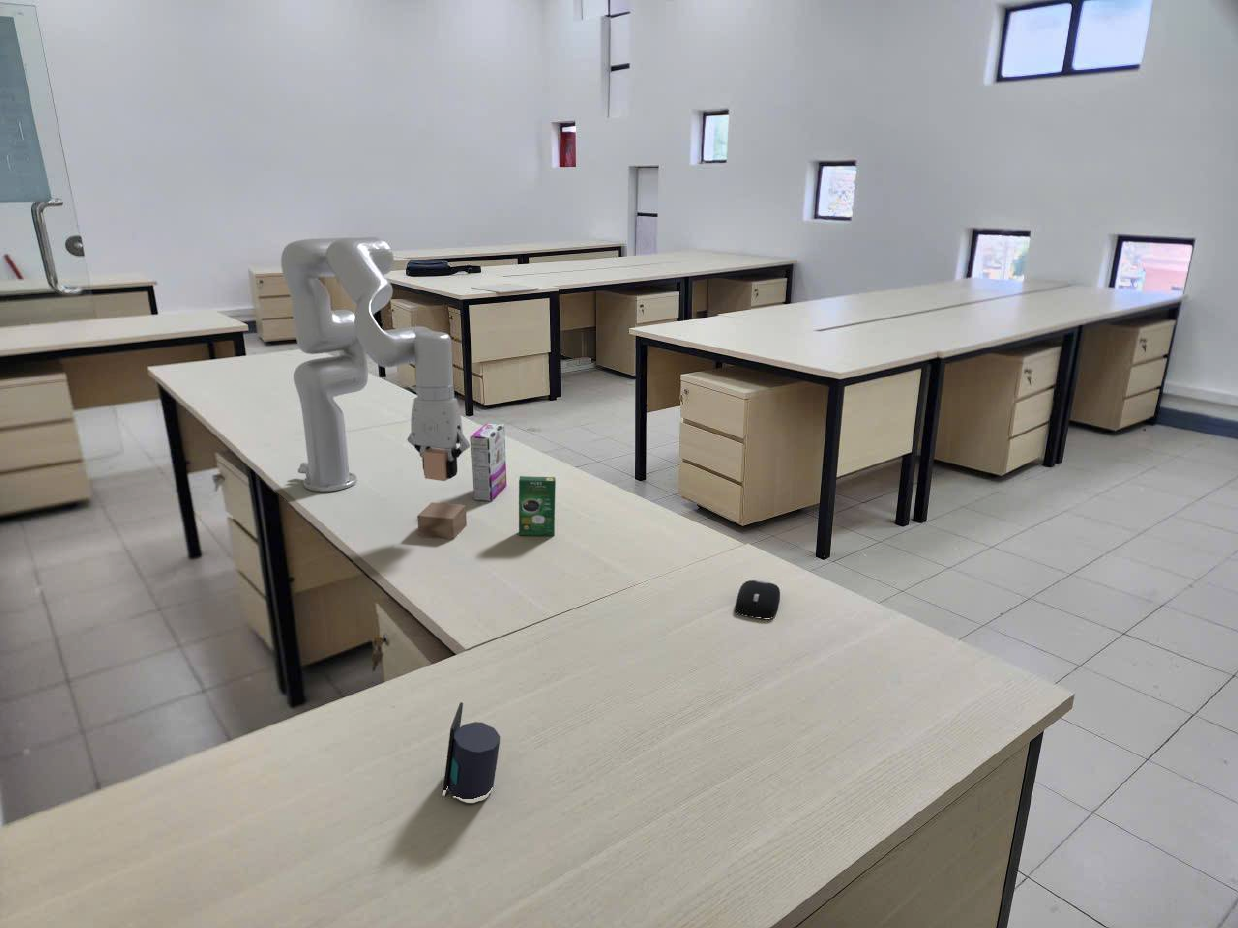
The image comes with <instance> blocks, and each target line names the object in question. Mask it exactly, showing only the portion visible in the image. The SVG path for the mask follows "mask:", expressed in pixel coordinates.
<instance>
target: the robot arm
mask: <svg viewBox="0 0 1238 928" xmlns="http://www.w3.org/2000/svg"><path fill="white" fill-rule="evenodd" d="M280 259H281V260H280V264H281V265H280V266H281V272H282V275H283V279H284V281H285V283H286V286H287V289H288V292H289V295H290V300H291V301H290V302H291V309H292V310H291V311H292V318H293V324H294V325H293V326H294V332H295V339H296V343H297V346H298V348H299V351H300V350H301V352H302V353H305V354H309V355H314V354H315V355H316V354H324V353H325V354H327V353H331V352H332V353H333V352H338V354H339V355H334V356H325V357H320V358H315V359H314V358H313V359H310V360H307V361H303V362H302V363H300V364H299V365H298V366H297V367H296V368H295V370H294V373H293V379H294V380H293V382H294V385H295V388H296V392H297V395H298V396H297V397H298V398H299V403H300V408H301V412H302V413H301V414H302V423H303V431H304V438H305V440H304V441H305V448H306V449H305V450H306V458H307V459H306V460H307V462H301V463H300V464H299V467H298V468H297V473H298V474H305V478H304V480H303V487H304V488H305V489H307V490H309V491H312V492H320V493H321V492H322V493H325V492H328V493H329V492H336V491H342V490H345V489H348V488H350V487H352V486H354V485H355V484H356V483H357V482H358V481H357V476H356V474H354V473H353V472H350V466H349V463H350V462H349V456H348V455H349V453H348V442H347V441H348V440H347V433H346V422H345V415H344V412H343V410H342V409H341V407H340V406H339V405H338V404H337V403H336V401H335V400H334V398H335V397H338V396H342V395H343V396H344V395H347V394H352V393H357V392H359V391H361V390H364V388H365V387H366V386H367V383H368V379H369V370H368V369H369V368H368V360H367V359H368V358H367V355H368V357H369V358H370V359H371V360H372V361H373V362H374V363H375V364H377V365H378V366H379V367H382V368H385V369H387V368H396V367H399V366H406V365H412V364H414V366H415V367H414V369H415V370H414V371H415V384H413V385H412V386H411V390H412V392H415V393H416V397H415V398H413V400H412V401H413V402H412V407H411V408H412V409H411V422H410V423H411V428H410V429H411V432H410V434H409V436H408V437H407V442H408V443H409V444H410V445H412V446H413V447H414V449H415V450H416V451H417V452H418V455H419V457H420V458H421V461H422V469H423V471H424V458H423V451H425V450H427V449H429V448H431V447H434V448H442V449H445V451H446V454H447V458H448V460H447V461H446V473H447V478H448V479H447V480H450V479H452V478H453V477H455V476H457V474H458V458H459V457H460V456H461V455H463V453H464V452H465V451H466V450H468V449H469V448H471V443H470V442H469V440H467V438H466V437H465V435H464V432H463V422H462V416H461V410H460V406H459V402H458V399H457V398H455V388H454V384H455V383H454V369H453V367H454V366H453V350H452V349H453V347H452V338H451V336H450V335H449V334H448V333H446V332H441V331H435V330H431V329H430V328H428V327H425V326H421V325H417V326H410V327H401V328H394V329H393V328H392V329H387V330H383V329H382V328H381V326H380V325H379V323H378V322H377V320H376V319H375V317H374V315H375V314H376V313H377V312H379V311H380V310H382V309H383V308H384V307H386V305H387V304H388V303H389V302H390V300H391V299H392V297H393V291H394V290H393V286H392V284H391V283H390V282H389V280H388V278H386V276H385V275H388V274H389V273H390V272H391V270H393V268H394V261H395V260H394V254H393V251H392V249H391V247H390V245H389V244H388V243H387V242H386V241H385V240H383V238H380V237H377V236H376V237H375V236H365V237H364V236H363V237H332V238H329V237H327V238H325V237H324V238H322V237H321V238H309V239H308V238H306V239H299V240H295V241H292V242H290V243H288V244H287V245H286V246H285V247H284V248H283V251H282V252H281V258H280ZM326 277H327V278H328V277H330V278H331V277H336V279H337V280H338V281H339V283H340V284H341V285H342V287H343V288H344V290H345V291H346V293H347V294H348V296H350V298H351V299H352V302H353V303H354V304H355V310H354V312H353V311H351V310H348V309H336V310H332V307H331V299H330V293H329V291H328V289H327V287H326V286H325V285H324V283H323V282H322V281H321V280H320V278H326ZM458 444H459V447H457V445H458ZM423 475H424V476H425V473H424V472H423Z"/></svg>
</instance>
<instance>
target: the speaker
mask: <svg viewBox="0 0 1238 928" xmlns="http://www.w3.org/2000/svg"><path fill="white" fill-rule="evenodd" d="M463 709H464V702H459V704H458V707H457V709H456V712H455V715H454V718H453V721H452V723H451V726H450V729H449V736H448V743H447V744H448V745H447V752H446V760H445V761H446V762H445V768H444V778H443V784H442V791H443V790H446V788H447V786H448V789H449V790H448V789H447V790H448V792H449V791H450V792H451V793H450V792H449V793H450V795H451V794H452V795H451V797H452V796H456V797H460V798H462V799H474V798H477V797H480V796H483V795H486V794H487V793H488V792H489V791H490V790H491V788H492V787H493V788H494V785H495V778H496V773H497V764H498V759H499V752H500V745H501V735H500V733H499V732H498V730H496V728H495V727H494V726H491V725H489V724H486V723H484V722H476V721H474V722H469V723H466V724H461V723H462V717H463V716H462V715H463Z"/></svg>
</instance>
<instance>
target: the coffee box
mask: <svg viewBox="0 0 1238 928" xmlns="http://www.w3.org/2000/svg"><path fill="white" fill-rule="evenodd" d="M556 484H557V482H556V477H555V476H531V475H530V476H529V475H528V476H527V475H526V476H523V475H520V476H519V479H518V536H525V537H530V536H536V537H538V536H542V537H543V536H544V537H549V536H550V537H554V536H555V532H556V531H555V528H556V525H555V524H556V523H555V522H556V517H555V516H556V490H557V489H556V488H557V487H556Z"/></svg>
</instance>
